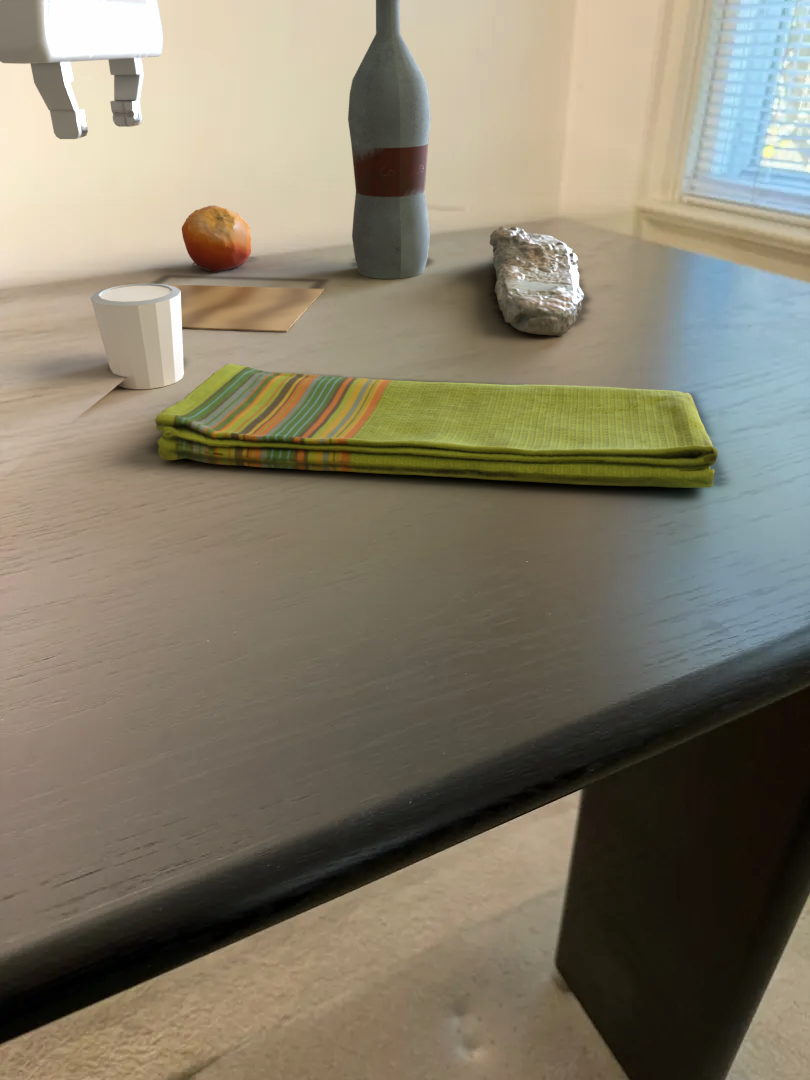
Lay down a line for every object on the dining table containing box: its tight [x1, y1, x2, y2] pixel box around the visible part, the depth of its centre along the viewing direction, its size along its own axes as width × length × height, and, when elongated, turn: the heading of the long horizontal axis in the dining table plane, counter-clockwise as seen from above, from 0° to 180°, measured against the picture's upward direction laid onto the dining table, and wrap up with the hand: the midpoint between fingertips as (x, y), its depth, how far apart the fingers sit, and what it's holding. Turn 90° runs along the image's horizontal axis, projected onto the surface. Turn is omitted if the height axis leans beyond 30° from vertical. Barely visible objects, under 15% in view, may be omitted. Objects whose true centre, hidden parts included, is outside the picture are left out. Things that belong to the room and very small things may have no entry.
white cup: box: [90, 283, 185, 390], centre depth 72 cm, size 7×7×7 cm
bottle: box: [347, 0, 432, 280], centre depth 98 cm, size 9×9×30 cm
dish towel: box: [154, 363, 719, 489], centre depth 62 cm, size 15×36×3 cm, turn 81°
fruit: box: [181, 205, 252, 273], centre depth 107 cm, size 8×8×8 cm
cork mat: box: [167, 283, 325, 333], centre depth 92 cm, size 18×16×1 cm
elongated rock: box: [489, 226, 585, 337], centre depth 96 cm, size 35×5×10 cm
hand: (102, 131), depth 65 cm, fingers open, 8 cm apart
